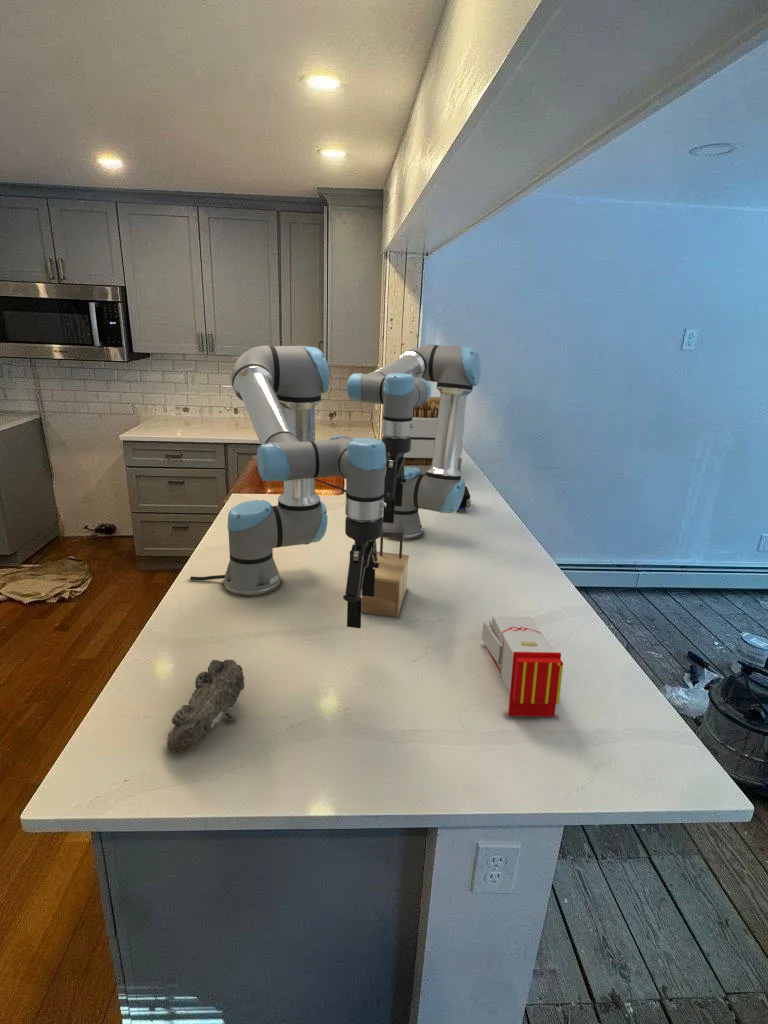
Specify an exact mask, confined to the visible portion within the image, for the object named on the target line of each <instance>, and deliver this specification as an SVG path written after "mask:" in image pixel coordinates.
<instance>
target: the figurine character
mask: <svg viewBox="0 0 768 1024" xmlns="http://www.w3.org/2000/svg"><path fill="white" fill-rule="evenodd" d="M471 501H472V500H471V494H470V491H469V488H468V486H467V485H465V491H464V495H463V499H462V501H461V504H460V506H459V508H458V509H457V511H456V512H460V510H463V511H464V513H466V512H467V509H470V508H471V505H472V504H471ZM466 508H467V509H466Z"/></svg>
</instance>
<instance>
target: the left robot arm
mask: <svg viewBox="0 0 768 1024" xmlns="http://www.w3.org/2000/svg"><path fill="white" fill-rule="evenodd" d="M230 379H231V387H232V390H233V391H234V394H235V396H236V397H237V398H238V399H239V400H240V401H242V402H243V404H244V406H245V407H244V408H245V410H246V412H247V414H248V416H249V419H250V421H251V424H252V426H253V429H254V431H255V433H256V437H257V438H258V441H259V443H260V445H259V446H258V447H257V450H256V465H257V469H258V475H259V477H260V478H261V480H263V481H265V482H280V483H281V482H283V492H282V493H281V494H280V495H279V496H278V498H277V505H272V503H271V502H270V501H267V500H263V499H262V500H259V499H253V500H248V501H244V502H240V503H238V504H235V505H234V506H233V507H231V508H230V510H229V511H228V514H227V526H226V527H227V533H228V547H229V548H228V549H229V550H228V551H229V552H228V553H229V562H228V564H227V568H226V572H225V574H219V575H208V576H192V575H191V576H190V581H211V580H220V579H221V580H222V579H224V580H223V582H224V583H223V584H224V589H225V590H226V591H227V592H229V593H231V594H233V595H234V594H235V595H238V596H243V597H253V596H261V595H266V594H268V593H270V592H272V591H274V590H276V589H277V588H278V587H279V586H280V584H281V577H280V573H279V569H278V566H277V564H276V562H275V559H274V556H273V554H274V553H273V550H274V549H278V548H285V547H293V546H301V545H310V544H313V543H318V542H320V541H321V540H322V539H323V538H324V537H325V535H326V533H327V528H328V515H327V513H328V510H327V507H326V503H324V501H322V500H321V496H319V495H318V493H316V491H315V490H316V480H315V479H320V478H333V477H343V479H345V481H346V482H345V490H346V492H345V510H344V511H345V512H344V513H345V515H346V517H345V521H344V522H345V525H344V527H345V529H344V531H345V532H344V533H345V535H346V537H348V538H349V539H352V540H353V541H354V544H352V545H351V549H350V551H349V562H348V563H349V564H348V571H347V579H346V585H345V586H346V587H345V594H343V595H342V598H343V600H344V601H345V602H347V606H346V607H347V608H346V627H347V628H352V629H353V628H354V629H361V627H362V596H370V597H374V588H375V569H373V568H379V563H376V562H377V560H378V558H377V552H378V548H377V540H378V539H380V538H381V535H382V531H383V519H382V517H383V509H384V507H386V505H387V504H386V503H385V502H384V485H385V474H386V447H385V444H384V443H383V442H382V439H381V440H380V439H377V438H373V437H355V438H352V437H348V436H345V435H341V434H340V435H335V436H332V437H330V438H329V439H327V440H326V439H325V440H316V407H317V406H318V405H319V404H320V403H321V402H322V394H325V393H327V392H328V391H329V387H330V370H329V366H328V362H327V359H326V356H325V355H324V353H323V352H322V350H321V349H319V348H318V347H315V346H308V345H307V346H306V345H258V346H254V347H252V348H250V349H248V350H247V351H245V352H243V353H242V354H241V355H240V356H239V358H238V359H237V360H236V361H235V363H234V365H233V368H232V370H231V376H230Z"/></svg>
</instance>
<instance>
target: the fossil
mask: <svg viewBox="0 0 768 1024" xmlns="http://www.w3.org/2000/svg"><path fill="white" fill-rule="evenodd" d="M243 670H244V669H243V667H242V665H240V664H237V662H236V661H235V660H234V659H232V658H231V659H227V658H226V659H224V660H223V661H222V660H217V659H212V660H211V661H210V663H209V665H208V666H207V671H201V672H199V673H198V674H197V675H196V676H195V680H194V684H195V685H194V687H195V689H194V690H193V693H192V694H191V697H190V698H189V700H188V704H184V705H182V706H181V707H180V709H177V710H176V711H175V713H174V715H173V716H172V718H171V723H172V724H173V727H172V730H171V731H170V732H168V734H167V738H166V741H167V742H166V745H167V749H168V750H169V751H173V752H174V753H176V754H178V753H182V752H188V751H189V752H192V751H193V750H195V748H196V747H197V746H199V744H200V743H201V742H203V741H204V740H205V739H206V738H207V737H208V736H209V735H210V734H211V733H212V732H214V730H215V729H217V727H218V726H219V724H220V722H221V721H222V720H223V719H224V718H225V716H226V717H227V719H229V720H233V717H232V715H230V714H229V710H230V709H231V708H234V706H235V704H236V703H237V702H238V699H239V697H240V695H241V693H242V691H243V690H245V689H244V688H245V675H244V671H243Z"/></svg>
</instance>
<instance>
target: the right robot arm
mask: <svg viewBox="0 0 768 1024" xmlns="http://www.w3.org/2000/svg"><path fill="white" fill-rule="evenodd" d="M481 368H482V367H481V359H480V355H479V352H478V350H477V349H476V348H474V347H469V346H461V345H460V346H459V345H457V346H456V345H441V344H426V345H421V346H418V347H415V348H412V349H409V350H407V351H404V352H403V353H402V354H400V356H399V357H398V358H397V359H395V360H394V361H392V362H389V363H388V364H385V365H384V366H381V367H379V368H377V369H375V370H373V371H371V372H368V373H362V372H360V373H352V374H350V375H349V377H348V379H347V383H346V394H347V396H348V398H349V399H350V401H354V402H360V403H368V404H378V405H383V408H382V410H383V411H382V422H381V423H382V424H381V428H382V429H381V434H382V437H381V441H382V442H383V443H384V444H385V447H386V452H388V453H389V454H390V456H389V459H388V458H387V461H386V468H385V485H384V500H383V502H385V503H386V504H387V505H386V507H383V516H382V519H383V530H390V531H400V532H404V538H403V541H410V540H415V539H418V538H420V537H421V536H422V535H423V525H422V524H421V518H420V515H419V509H420V510H427V511H433V512H438V513H440V514H451V515H452V514H454V513H456V512H458V511H457V509H458V508H459V506H460V504H461V501H462V499H463V495H464V491H465V486H466V481H464V480H463V479H462V473H460V472H459V471H458V469H457V467H458V459H459V452H460V444H461V440H462V438H461V437H462V429H463V422H464V423H465V421H464V420H465V413H466V406H467V399H468V396H469V395H470V394H471V393H472V392H473V389H474V387H476V386H478V385H479V384H480V380H481ZM429 382H432V383H433V382H434V383H436V389H437V390H438V391H439V393H440V396H439V397H440V403H439V411H438V419H437V427H436V435H435V444H434V452H433V460H432V465H430V466H429V468H428V469H426V472H425V474H422V470H421V468H419V467H416V466H406V467H405V465H404V453H408V452H409V451H410V450H411V438H410V437H409V436H410V435H411V431H412V428H414V424H411V423H412V417H413V408H415V407H419V406H421V405H423V404H424V403H425V402H427V401H428V399H429V397H431V394H432V389H431V385H430V383H429ZM315 482H318V483H321V484H324V485H327V486H330V487H332V488H335V489H338V490H340V491H343V492H345V493H346V488H345V489H344V488H342V487H340V486H337V485H334V484H331V483H329V482H325V481H322V480H320V479H318V478H315ZM389 540H395V541H400V539H395V538H389Z"/></svg>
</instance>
